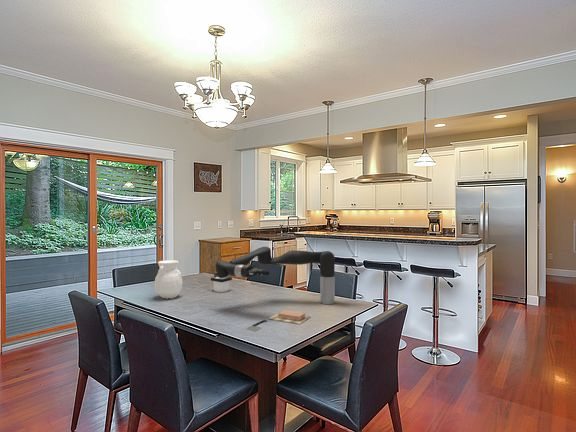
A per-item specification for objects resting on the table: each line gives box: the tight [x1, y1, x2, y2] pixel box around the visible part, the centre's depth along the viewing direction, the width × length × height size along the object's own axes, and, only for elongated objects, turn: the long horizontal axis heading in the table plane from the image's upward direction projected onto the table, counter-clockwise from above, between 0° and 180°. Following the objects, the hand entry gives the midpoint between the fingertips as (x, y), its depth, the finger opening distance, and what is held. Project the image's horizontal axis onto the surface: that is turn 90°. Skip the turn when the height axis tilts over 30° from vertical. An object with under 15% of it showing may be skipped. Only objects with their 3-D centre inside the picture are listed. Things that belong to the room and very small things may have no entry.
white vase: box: [153, 259, 183, 300], centre depth 247 cm, size 19×18×25 cm
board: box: [268, 313, 311, 325], centre depth 198 cm, size 19×14×1 cm
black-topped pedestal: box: [210, 272, 233, 293], centre depth 266 cm, size 28×26×13 cm
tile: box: [277, 309, 306, 321], centre depth 197 cm, size 2×8×13 cm
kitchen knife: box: [246, 319, 268, 333], centre depth 180 cm, size 29×1×10 cm
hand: (268, 273), depth 203 cm, fingers closed
